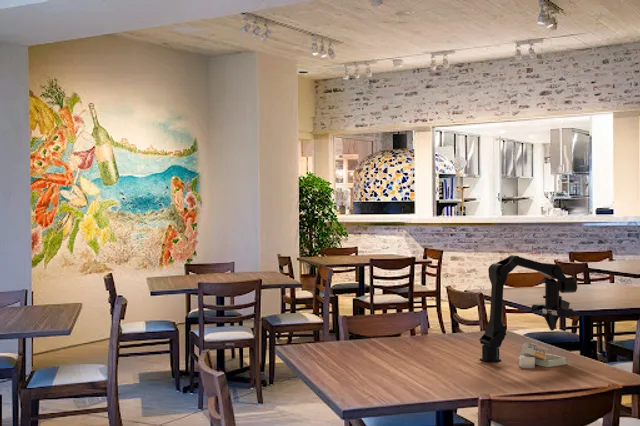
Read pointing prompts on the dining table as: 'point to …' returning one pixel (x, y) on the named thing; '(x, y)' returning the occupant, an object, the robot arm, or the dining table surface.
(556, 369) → the dining table surface
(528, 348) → the supplement box
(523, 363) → the white rounded block
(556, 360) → the squared c-shaped bracket
